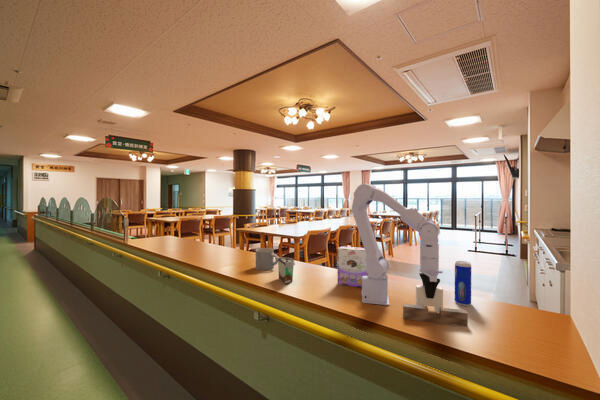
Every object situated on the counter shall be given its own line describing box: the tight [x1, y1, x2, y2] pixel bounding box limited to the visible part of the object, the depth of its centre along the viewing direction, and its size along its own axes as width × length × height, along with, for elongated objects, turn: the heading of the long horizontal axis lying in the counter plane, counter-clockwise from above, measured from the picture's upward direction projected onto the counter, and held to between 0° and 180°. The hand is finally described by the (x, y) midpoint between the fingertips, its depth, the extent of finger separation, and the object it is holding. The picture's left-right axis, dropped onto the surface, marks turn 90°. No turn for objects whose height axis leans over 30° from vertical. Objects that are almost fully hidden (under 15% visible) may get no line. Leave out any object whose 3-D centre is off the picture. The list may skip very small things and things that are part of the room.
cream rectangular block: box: [415, 284, 444, 314], centre depth 91 cm, size 8×2×8 cm, turn 74°
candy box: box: [336, 245, 368, 289], centre depth 117 cm, size 14×6×16 cm, turn 63°
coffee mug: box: [255, 247, 279, 271], centre depth 144 cm, size 13×10×10 cm
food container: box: [277, 256, 296, 285], centre depth 123 cm, size 12×6×10 cm, turn 22°
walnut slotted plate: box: [402, 303, 469, 327], centre depth 83 cm, size 18×2×4 cm, turn 74°
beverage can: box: [454, 260, 472, 307], centre depth 96 cm, size 5×5×15 cm
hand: (429, 296), depth 91 cm, fingers closed on cream rectangular block, 2 cm apart
